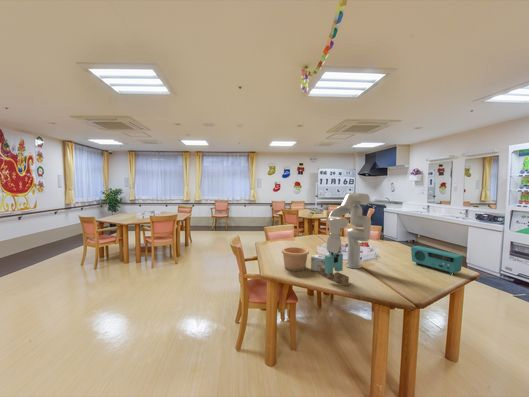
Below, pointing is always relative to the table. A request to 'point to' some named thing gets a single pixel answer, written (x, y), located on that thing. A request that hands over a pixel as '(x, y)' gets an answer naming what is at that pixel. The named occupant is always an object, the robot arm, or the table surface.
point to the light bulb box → (317, 262)
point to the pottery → (295, 258)
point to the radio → (437, 258)
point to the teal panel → (330, 263)
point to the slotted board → (335, 277)
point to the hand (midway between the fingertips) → (334, 261)
